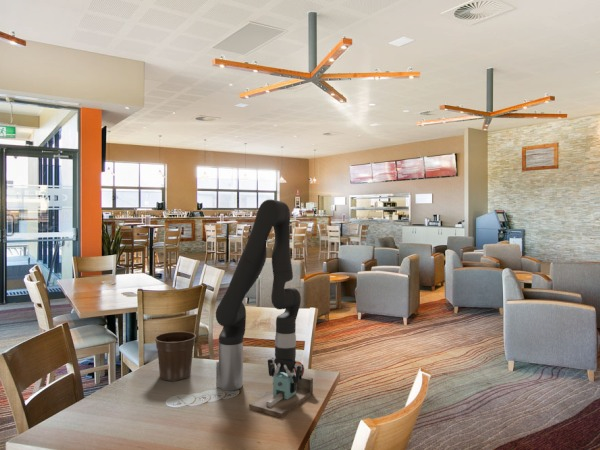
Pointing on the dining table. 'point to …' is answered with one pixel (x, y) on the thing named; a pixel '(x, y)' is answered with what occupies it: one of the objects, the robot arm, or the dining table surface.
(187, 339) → the plant pot
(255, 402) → the cleat board
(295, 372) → the apple
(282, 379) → the cabinet block
